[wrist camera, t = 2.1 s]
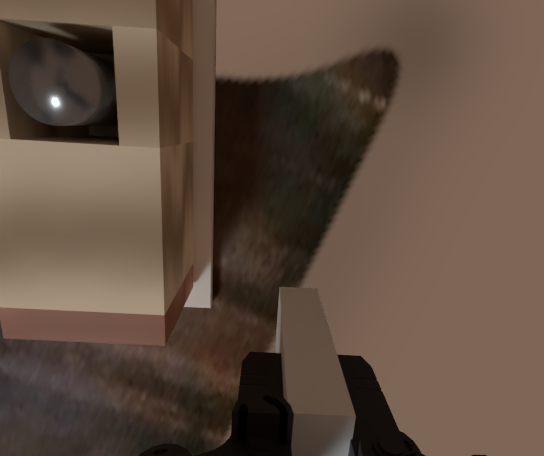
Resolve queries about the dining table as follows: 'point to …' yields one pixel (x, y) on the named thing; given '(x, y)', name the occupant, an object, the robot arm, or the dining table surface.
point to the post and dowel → (63, 84)
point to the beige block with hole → (100, 181)
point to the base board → (197, 148)
